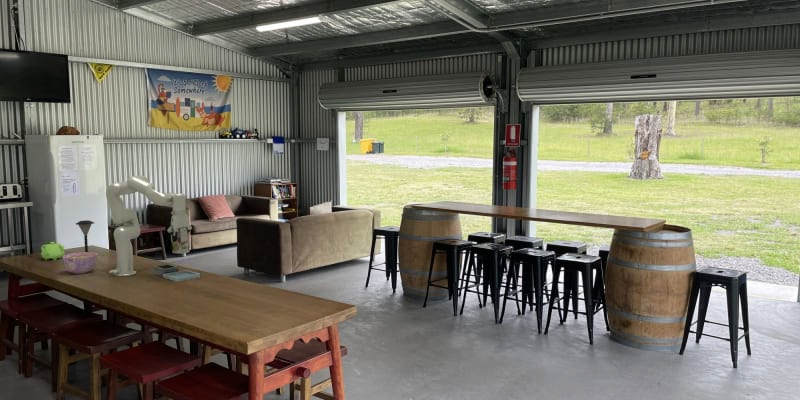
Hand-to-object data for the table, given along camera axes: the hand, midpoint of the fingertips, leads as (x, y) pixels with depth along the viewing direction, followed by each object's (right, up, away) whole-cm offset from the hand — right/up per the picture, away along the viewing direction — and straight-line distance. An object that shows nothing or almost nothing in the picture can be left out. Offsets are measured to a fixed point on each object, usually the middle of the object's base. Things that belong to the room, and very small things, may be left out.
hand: (180, 240), depth 356 cm
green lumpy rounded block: (-117, -18, +59) cm, 132 cm away
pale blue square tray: (0, -24, +2) cm, 24 cm away
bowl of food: (-72, -22, +16) cm, 77 cm away
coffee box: (0, -8, +1) cm, 8 cm away
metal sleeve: (-14, -23, +12) cm, 29 cm away
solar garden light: (-85, -19, +48) cm, 99 cm away
